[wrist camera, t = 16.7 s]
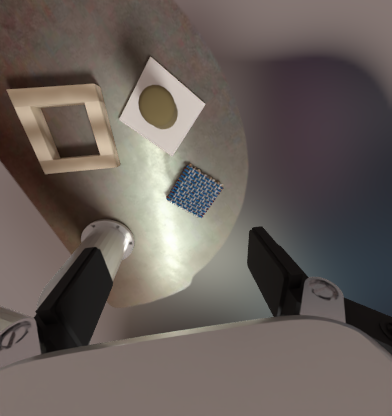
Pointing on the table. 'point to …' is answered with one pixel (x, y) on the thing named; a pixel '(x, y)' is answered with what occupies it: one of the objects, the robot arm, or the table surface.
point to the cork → (158, 107)
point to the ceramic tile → (183, 99)
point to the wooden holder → (41, 137)
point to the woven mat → (194, 191)
